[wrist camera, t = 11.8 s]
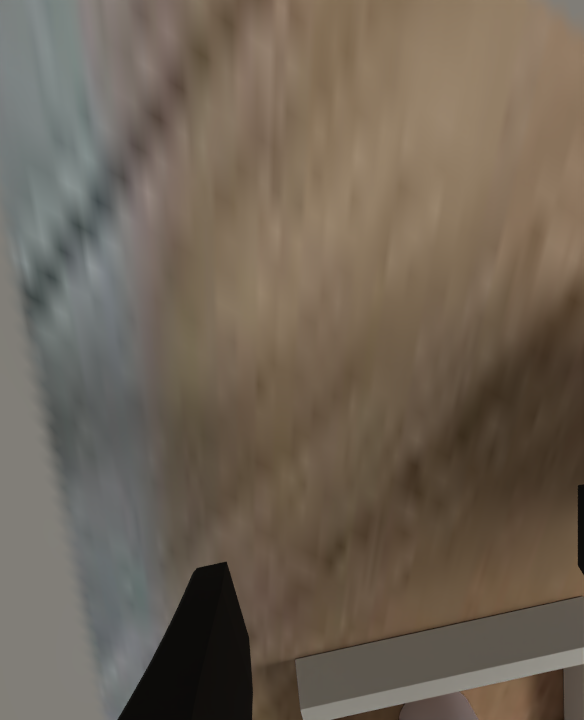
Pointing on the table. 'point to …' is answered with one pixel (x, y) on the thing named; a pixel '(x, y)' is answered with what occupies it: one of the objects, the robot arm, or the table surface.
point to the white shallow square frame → (448, 662)
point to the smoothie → (439, 708)
